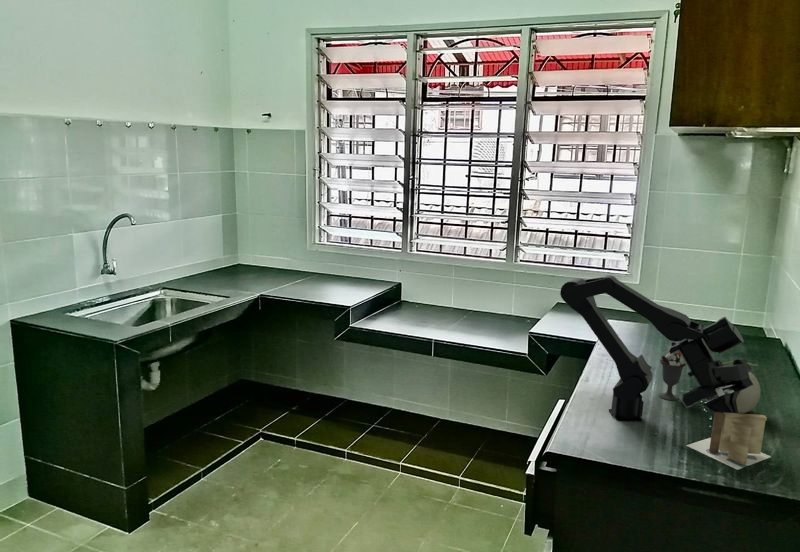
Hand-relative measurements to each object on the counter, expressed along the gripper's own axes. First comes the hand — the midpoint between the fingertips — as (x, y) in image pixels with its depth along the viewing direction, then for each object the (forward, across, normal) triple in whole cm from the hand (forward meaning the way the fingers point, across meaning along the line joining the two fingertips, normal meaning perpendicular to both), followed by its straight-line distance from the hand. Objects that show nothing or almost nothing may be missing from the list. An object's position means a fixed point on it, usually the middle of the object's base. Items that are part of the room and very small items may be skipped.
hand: (738, 426), depth 133 cm
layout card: (+4, -1, +5) cm, 6 cm away
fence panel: (+5, 0, +3) cm, 6 cm away
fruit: (-5, +23, +15) cm, 27 cm away
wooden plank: (+5, -4, +3) cm, 8 cm away
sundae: (-14, +16, +25) cm, 32 cm away
